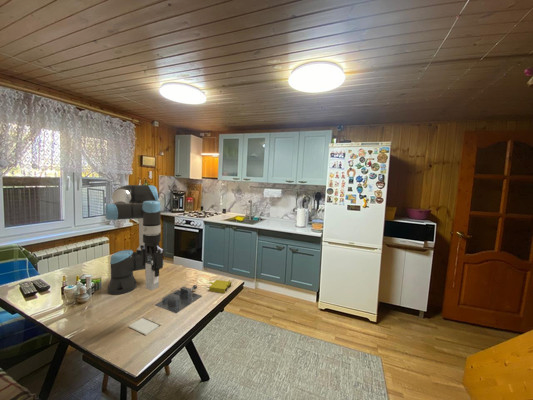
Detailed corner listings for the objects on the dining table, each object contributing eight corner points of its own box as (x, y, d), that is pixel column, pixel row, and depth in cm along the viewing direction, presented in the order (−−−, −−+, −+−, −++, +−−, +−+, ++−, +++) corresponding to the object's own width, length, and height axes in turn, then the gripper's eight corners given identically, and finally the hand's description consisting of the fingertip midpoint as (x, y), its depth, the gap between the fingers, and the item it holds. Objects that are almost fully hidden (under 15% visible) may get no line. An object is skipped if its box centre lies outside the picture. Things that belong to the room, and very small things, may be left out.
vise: (154, 306, 123) (154, 296, 122) (186, 288, 144) (186, 279, 143) (176, 315, 116) (176, 304, 115) (206, 295, 137) (206, 285, 136)
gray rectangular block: (145, 288, 108) (145, 263, 107) (158, 282, 114) (158, 258, 113) (151, 290, 106) (151, 264, 105) (164, 284, 112) (163, 260, 111)
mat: (128, 326, 106) (128, 325, 106) (158, 309, 120) (158, 308, 120) (146, 335, 101) (146, 334, 101) (174, 316, 115) (174, 315, 115)
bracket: (212, 272, 153) (233, 274, 150) (212, 283, 154) (233, 286, 151) (201, 282, 138) (224, 285, 135) (201, 294, 139) (224, 297, 136)
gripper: (132, 232, 107) (133, 280, 109) (157, 238, 99) (158, 289, 102) (146, 229, 113) (147, 274, 116) (171, 234, 106) (171, 282, 108)
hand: (152, 281), depth 109 cm, fingers closed on gray rectangular block, 4 cm apart
